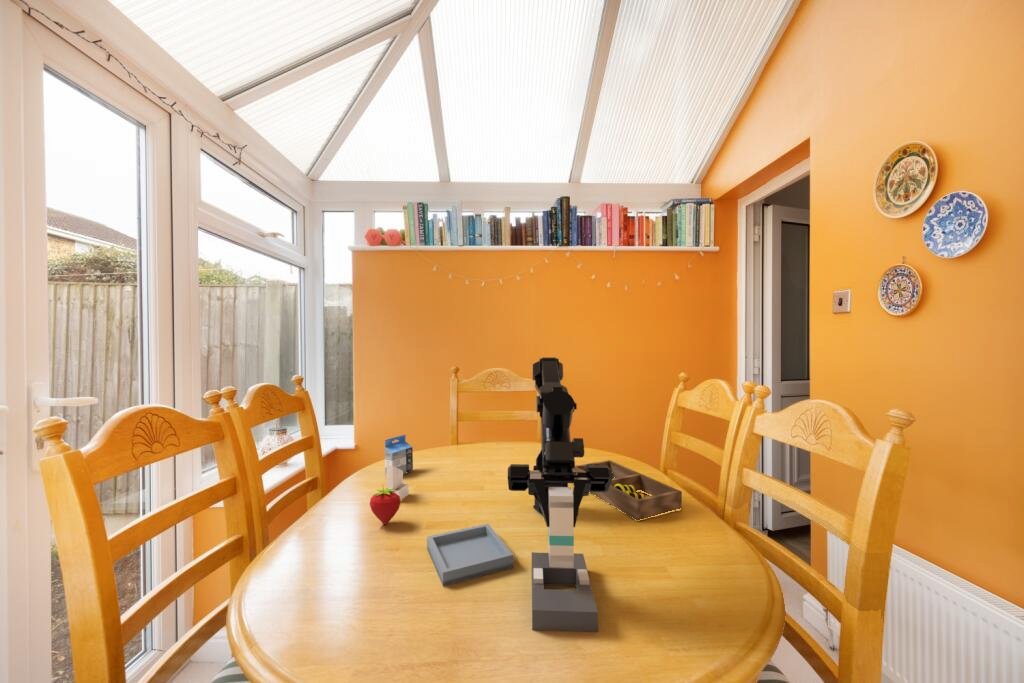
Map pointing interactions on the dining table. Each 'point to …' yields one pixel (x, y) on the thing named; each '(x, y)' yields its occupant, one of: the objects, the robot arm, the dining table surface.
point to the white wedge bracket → (397, 481)
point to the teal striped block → (560, 527)
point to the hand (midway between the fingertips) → (561, 526)
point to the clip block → (562, 596)
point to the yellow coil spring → (629, 490)
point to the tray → (468, 554)
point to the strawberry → (385, 504)
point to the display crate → (641, 508)
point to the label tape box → (398, 454)
